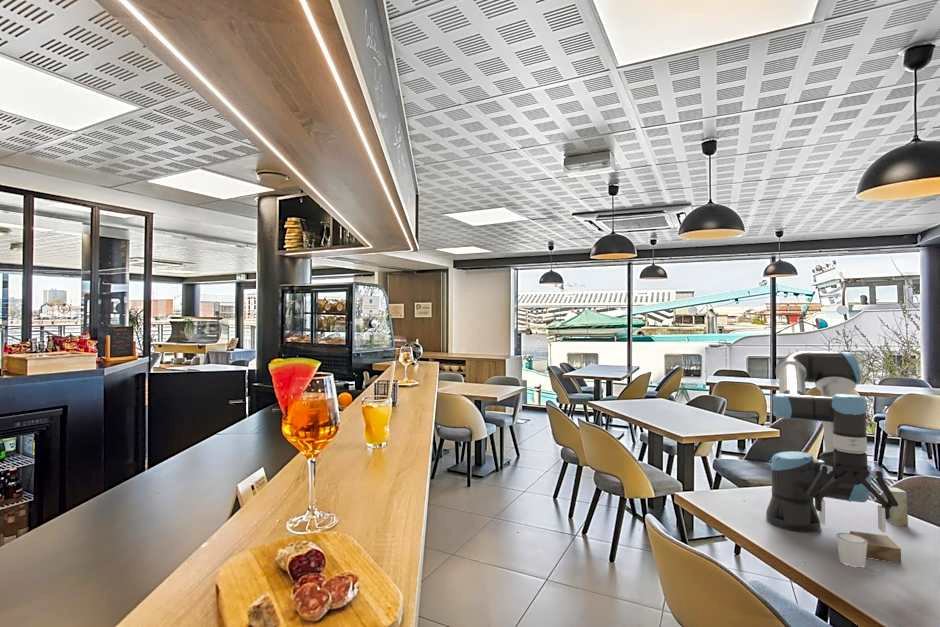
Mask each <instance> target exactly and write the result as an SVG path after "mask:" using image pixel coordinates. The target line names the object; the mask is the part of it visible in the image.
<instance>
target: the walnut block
mask: <svg viewBox="0 0 940 627" xmlns="http://www.w3.org/2000/svg"><path fill="white" fill-rule="evenodd" d="M849 534H854V535H857V536H860V537H862V538H864V539H866V540H867V552H866V557H867V558H873V559H872V560H874V559H879V560H878V561H881V560H885V561H884V562H888V561H891V562H890V563H895V562H896V564H902V549H901V547H899V545H897V544H896V543H895V541H894V540H892V538H890V537H889V536H888V535H885V534H877V533H871V532H870V533H869V532H863V531H862V532H861V531H853V530H850V532H849ZM867 558H866V559H867Z"/></svg>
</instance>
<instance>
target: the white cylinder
mask: <svg viewBox="0 0 940 627" xmlns="http://www.w3.org/2000/svg"><path fill="white" fill-rule="evenodd" d="M836 544H837V549H838V559H839V561H842V562H843V563H846V564H849V565H852V566H857V567H862V566H865V567H866V563H867V562H866V561H867V558H866V552H867V540H866V539H864V538H862V537H860V536H857V535H854V534H850V532H849V533H847V532H839V533H836ZM842 562H841V563H842ZM843 563H842V564H843Z"/></svg>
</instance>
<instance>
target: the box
mask: <svg viewBox="0 0 940 627" xmlns="http://www.w3.org/2000/svg"><path fill="white" fill-rule="evenodd" d="M888 488H889V490H890V491H891V493H892V495H893V496H894V498H895V500H896V501H897V503H898V506H897V507H895V506H893V507H891V509H889V513H890V515H889V516H890V518H889V520H888V519H886V520H887V521H886V520H885V521H886V522H888V521H889V522H888V523H890V524H891V523H892V525H893V524H896V525H895V526H904V525H907V526H909V518H908V497H907V496H908V495H907V493H908V492H906V491H905V490H902V489H900V488H898V487H889V486H888ZM882 493H883V492H882ZM882 495H883V499H884V500H885V501H888V499H887V498H886V496H885V494H884V493H883V494H882ZM907 526H906V527H907Z"/></svg>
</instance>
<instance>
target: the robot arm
mask: <svg viewBox="0 0 940 627" xmlns="http://www.w3.org/2000/svg"><path fill="white" fill-rule="evenodd" d="M775 376H776V378H777V379H778V383H779V384H778V388H779V390H778V391H779V393H774V394H773V395H772V415H773V416H775V417H776V418H783V419H786V420H789V419H790V420H804V421H814V422H815V421H816V422H822V427H823V428H822V429H823V442H824V451H823V452H822V453H820V454H819V459H818V458H817V459H816V458H814V456H813V455H812V453H809V452H804V451H781V452H776V453H775V454H773V456H772V457H771V466H770V470H771V497H770V501H769V503H768V506H767V509H766V512H765V517H766V520H767V521H768V523H770V524H771V525H773V526H776V527H779V528H781V529H784V530H788V531H793V532H796V533H797V532H798V533H816V532H819V531H821V524H822V525H825V526H826V501H825V500H824V498H826V499H827V498H829V499H833V500H841V501H846V502H849V503H851V502H853V503H855V502H857V503H866V502H867V501H868V500H869V499H870V494H872V496H873V497H874V498H875V499H876V500H877V501H878V502H879V503H880V504H877V529H878V530H879V531H881V532H882V533H886V532H887V531H886V520H885V519H888V520H889V518H890V516H889V515H890V513H889V509H891V507H893V506H895V507H897V506H898V503H897V501H896V500H895V498H894V496H893V495H892V493H891V491H890V490H889V488H888V487H889V486H888V485H887V483H886V481H885V480H884V475H883V472H882V471H881V470H880V469H878V468H874V469H872V466H870V465H868V454H867V451H868V444H867V443H868V439H867V410H868V408H867V403H866V399H865V397H864V396H862V395H857V394H852V392H853V391H854V390H855V389H856V386H857V385H859V384H860V383H861V372H860V365H859V362H858V359H857V358H856V355H855V354H853V353H852V352H847V351H840V350H838V351H821V350H819V351H812V350H811V351H810V350H809V351H808V350H801V351H795V352H792V353H789V354H787V355H785V356H784V357H783V358H781V359H780V360H779V361H778V363H777V364H776V366H775ZM806 383H814V384H815V388H816V389H817V390H819V391H820V395H819V396H818V395H817V396H816V395H807V389H806ZM872 478H874V479H875V481H876V483H877V484H878V486H879V488H880V490H882V493H884V494H885V496H886V498H887V499H888V501H885V500H884V497H883V496H881V494H880V493H879V492H878V491H877V490H876V489H875V488H874V487H873V486H872Z"/></svg>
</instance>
